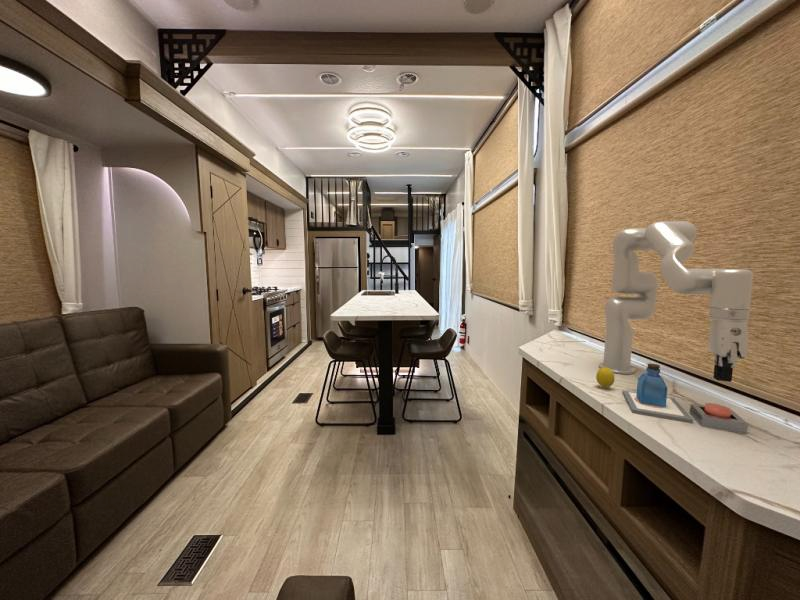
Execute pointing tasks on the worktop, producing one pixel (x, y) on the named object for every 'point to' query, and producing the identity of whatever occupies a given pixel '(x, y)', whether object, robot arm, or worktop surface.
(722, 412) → the button
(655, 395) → the perfume bottle
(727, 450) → the worktop surface
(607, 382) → the lemon
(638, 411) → the board
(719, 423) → the button base
